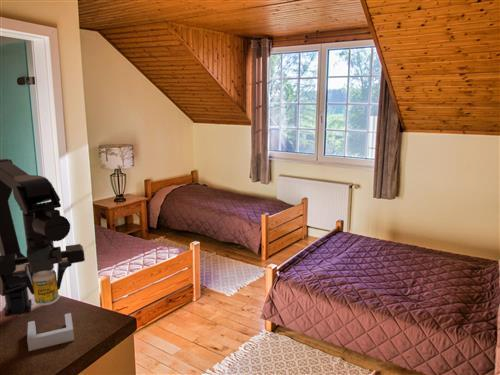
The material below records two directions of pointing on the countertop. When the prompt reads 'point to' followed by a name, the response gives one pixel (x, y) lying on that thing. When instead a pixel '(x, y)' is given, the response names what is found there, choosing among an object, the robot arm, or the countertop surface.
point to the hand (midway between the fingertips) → (46, 291)
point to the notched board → (49, 335)
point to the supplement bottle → (45, 287)
